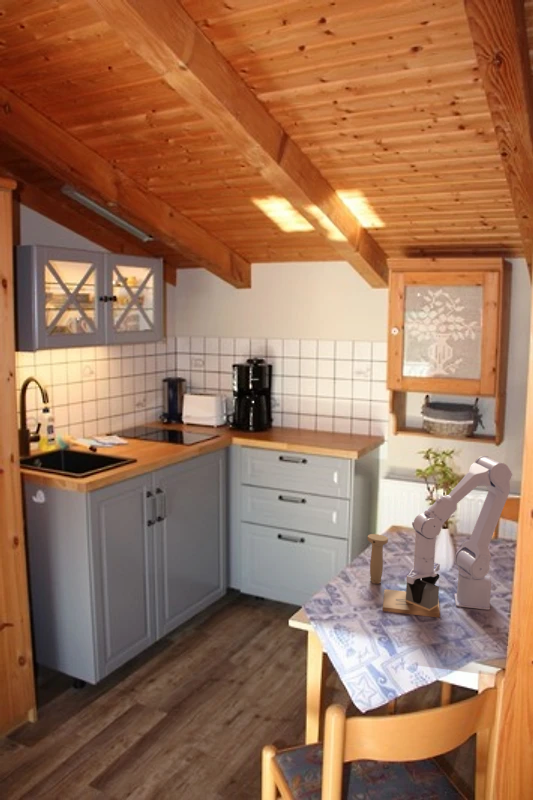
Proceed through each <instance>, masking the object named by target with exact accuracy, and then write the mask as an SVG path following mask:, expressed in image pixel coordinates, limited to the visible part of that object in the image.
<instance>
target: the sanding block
mask: <svg viewBox="0 0 533 800" xmlns="http://www.w3.org/2000/svg"><path fill="white" fill-rule="evenodd" d="M421 580H422V579H421ZM422 582H424V583H427V584H426V586H425V587H424V590H423V594H422V600H421V603H420V604H418V603H416V602H413V597H412V593H411V589H410V587H409V584H408V583H407V582H406V587H405V588H406V590H405V592H406V602H408V603H411V604H413V605H416V606H418V607H420V608H423V609H425V610H428V611H430V610H432V609H434V608H435V607H437V606H438V598H439V592H440V586H438V585H436V584H435V585H433V584H431V583H428V582H425V581H423V580H422Z"/></svg>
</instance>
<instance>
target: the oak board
mask: <svg viewBox="0 0 533 800" xmlns="http://www.w3.org/2000/svg"><path fill="white" fill-rule="evenodd" d="M383 591H384V592H383V602H382V612H387V611H388V613H396V614H406V615H415V616H423V617H432V618H440V616H441V611H440V610H441V609H440V602H439V601H440V600H439V597H438V606H437V607H435V608H434V609H432V610H430V611H428V610H425V609H423V608H420V607H418V606H416V605H413V604H411V603H408V602H406V590H395V589H385V588H384V590H383Z"/></svg>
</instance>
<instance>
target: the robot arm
mask: <svg viewBox="0 0 533 800" xmlns="http://www.w3.org/2000/svg"><path fill="white" fill-rule="evenodd" d="M512 477H513V473H512V471H511V469H510V468H509V466H508V465H507V464H506V463H504V462H500V461H498V460H495V459H493V458H491V457H489V456H488V455H481V456H479V457H477V459H476V460H475V461H474V462H473V463H472V464H470V466H469V469H468V472H467V473H466V474H465V475H464V476H463V478H462V479H460V481H459V482H457V484H456V485H455V487H454V488H452V489H451V491H450V492H449V493H448V494H447V495H441V496H440V497H439V496H438V497H437V498H436V499H435V502H433V504H432V505H431V506H430V507H428V509H426V510H424V512H423V513H420V514H418V515H417V516H416V517H415V518H414V519H413V522H411V525H412V528H413V530H414V533H415V535H414V536H415V537H414V539H415V540H414V541H415V543H414V554H413V555H414V557H413V567H412V568H411V570H410V572H409V573H408V575H406V580H405V582H406V584H407V583H408V584H409V587H410V589H411V593H412V597H413V602H416V603H418V604H420V603H421V600H422V594H423V590H424V587H425V586H426V584H427V583H424V582H422V580H423V581H425V582H428V583H431V584H433V585H436V583H437V582H438V580H440V579H439V578H440V574H439V573H437V572H438V571H440V566H441V564H440V563H438V562H435V558H436V556H435V555H436V553H435V552H436V541H437V536H439V535H440V533H441V530H442V527H443V525H444V523H446V522H447V520H448V519H449V518H450V517H451V516H452V515H453V514H454V513H455V512H456V511H457V509H458V503H460V502H461V501H462V500H463V499H464V498H466V497H467V495H469V494H470V493H471V492H472V491H473V490H475V489H476V488H477V487H479V486H480V487H481V486H482V487H483V486H486V488H487V491H488V492H487V493H486V497H485V499H484V502H483V504H482V507H481V510H480V512H479V515H478V516H477V520H476V523H475V525H474V528H473V530H472V534H471V535H470V537H469V539H467V540H466V541H463V543H462V545H461V547H459V549H458V550H457V551H456V553H455V555H454V562H455V564H456V566H457V567H458V568H457V570H458V574H457V589H456V593H454V600H455V601H454V602H455V607H461V608H470V609H477V610H478V609H479V610H487V611H489V610H490V609H491V608H490V605H491V591H492V580H491V579H492V578H491V575H488V574H489V571H490V567H491V566H490V561H491V558H492V555H491V552H490V549H489V546H490V543H491V541H492V539H493V536H494V533H495V531H496V528H497V526H498V522H499V520H500V518H501V515H502V512H503V510H504V507H505V505H506V502H507V501H508V497H509V494H510V491H511V490H510V487H511V486H510V482H511V480H512Z"/></svg>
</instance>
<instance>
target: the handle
mask: <svg viewBox="0 0 533 800" xmlns="http://www.w3.org/2000/svg"><path fill="white" fill-rule="evenodd" d="M367 541H368V542H369V543H370V544H371V556H370V564H369V574H370V582H371V583H372V584H374V585H378V584H381V583H382V576H383V571H384V570H383V569H384V567H383V566H384V558H383V557H384V556H383V554H384V553H383V552H384V551H383V548H384V545H386V544H388V543H389V537H387V536H385V535H382V534H377V533H371V534H368V535H367Z"/></svg>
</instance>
